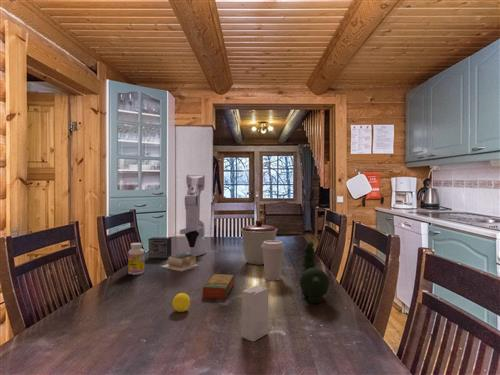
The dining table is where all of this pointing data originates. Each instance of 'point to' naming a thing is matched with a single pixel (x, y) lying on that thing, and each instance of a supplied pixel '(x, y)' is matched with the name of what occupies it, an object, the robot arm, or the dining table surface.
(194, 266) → the beige mat
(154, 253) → the small box
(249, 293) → the skincare box
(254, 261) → the canister
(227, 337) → the dining table surface
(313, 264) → the green topiary plant
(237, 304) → the dining table surface
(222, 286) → the carton
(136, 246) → the supplement bottle
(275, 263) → the coffee cup
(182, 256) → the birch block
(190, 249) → the robot arm
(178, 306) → the lemon
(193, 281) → the dining table surface
